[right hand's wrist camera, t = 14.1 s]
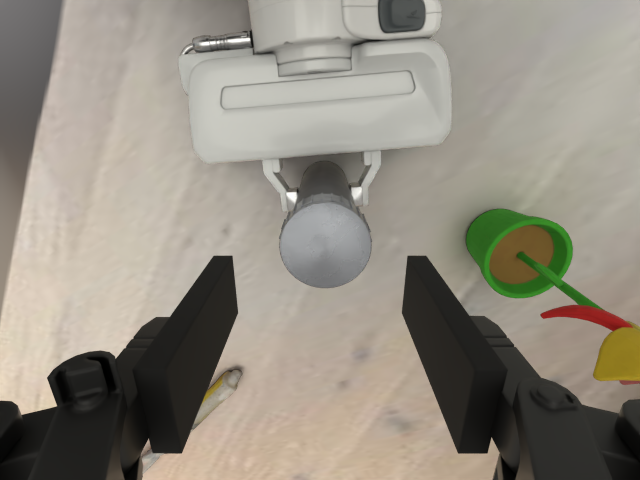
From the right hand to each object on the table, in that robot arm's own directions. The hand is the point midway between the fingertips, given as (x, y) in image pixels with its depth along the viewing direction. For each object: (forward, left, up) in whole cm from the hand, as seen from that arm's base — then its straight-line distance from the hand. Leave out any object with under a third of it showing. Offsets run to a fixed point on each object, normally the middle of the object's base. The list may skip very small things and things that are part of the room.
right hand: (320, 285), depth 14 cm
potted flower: (-6, -19, -22) cm, 30 cm away
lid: (0, 0, -5) cm, 5 cm away
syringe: (-34, +18, -22) cm, 44 cm away
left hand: (-1, 0, -16) cm, 16 cm away
